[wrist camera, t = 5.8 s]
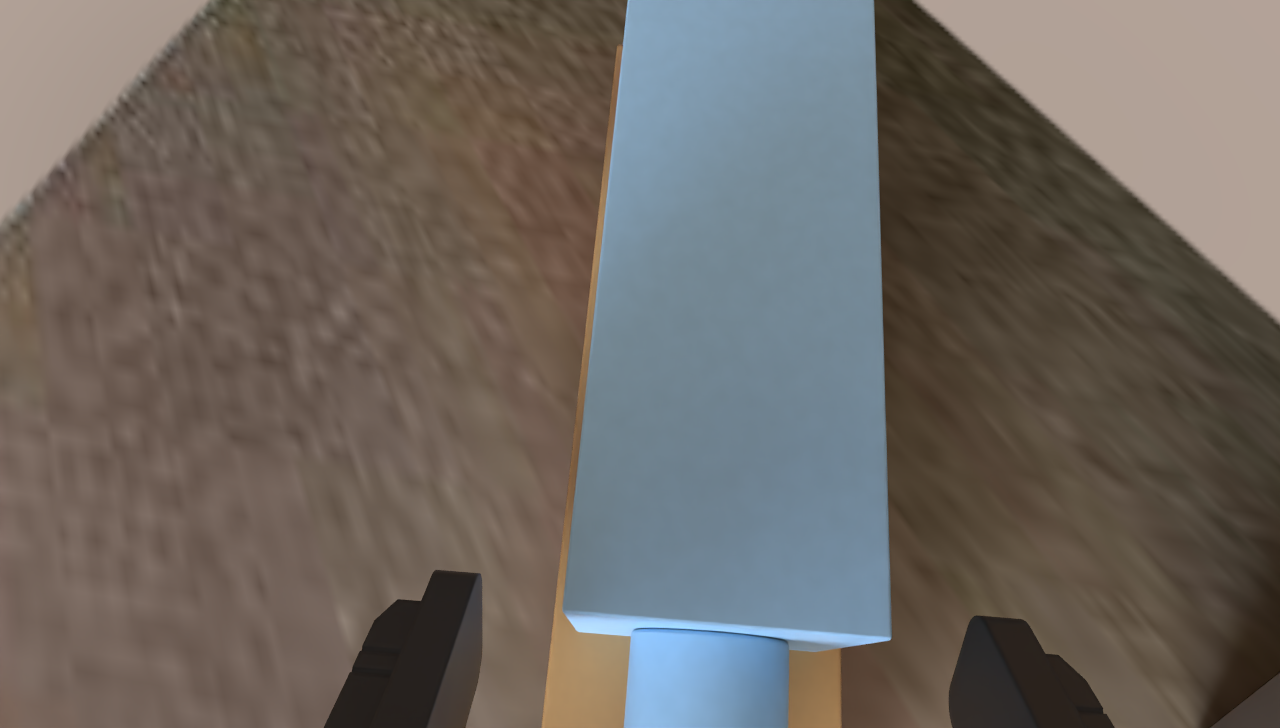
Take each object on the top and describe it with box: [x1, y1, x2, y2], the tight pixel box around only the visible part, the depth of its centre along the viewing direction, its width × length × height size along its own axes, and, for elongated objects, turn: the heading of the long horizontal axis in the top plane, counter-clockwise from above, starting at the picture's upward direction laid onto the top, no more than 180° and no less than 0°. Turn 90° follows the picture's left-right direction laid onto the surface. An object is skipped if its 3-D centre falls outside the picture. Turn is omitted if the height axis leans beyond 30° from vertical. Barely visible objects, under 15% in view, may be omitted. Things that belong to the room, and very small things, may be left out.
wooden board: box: [541, 45, 842, 728], centre depth 21 cm, size 22×6×4 cm, turn 175°
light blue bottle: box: [562, 0, 892, 728], centre depth 16 cm, size 18×5×5 cm, turn 175°
